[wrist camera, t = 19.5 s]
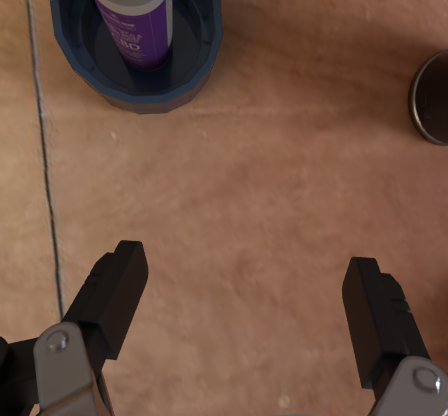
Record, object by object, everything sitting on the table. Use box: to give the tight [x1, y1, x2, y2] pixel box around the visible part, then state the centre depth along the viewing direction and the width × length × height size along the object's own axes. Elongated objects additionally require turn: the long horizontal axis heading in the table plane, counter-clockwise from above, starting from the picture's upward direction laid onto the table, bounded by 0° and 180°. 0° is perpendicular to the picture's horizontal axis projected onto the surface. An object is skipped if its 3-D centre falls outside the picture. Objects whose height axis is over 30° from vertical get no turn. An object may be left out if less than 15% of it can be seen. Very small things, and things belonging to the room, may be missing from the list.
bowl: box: [50, 0, 223, 114], centre depth 25 cm, size 12×12×5 cm
